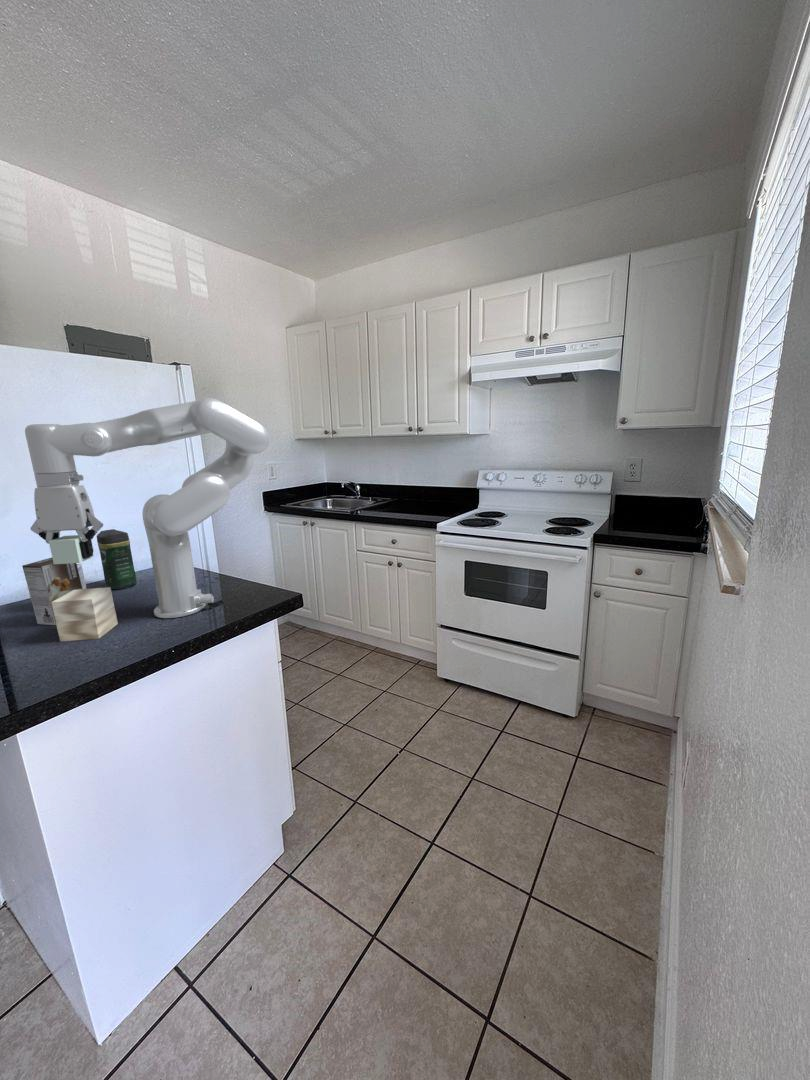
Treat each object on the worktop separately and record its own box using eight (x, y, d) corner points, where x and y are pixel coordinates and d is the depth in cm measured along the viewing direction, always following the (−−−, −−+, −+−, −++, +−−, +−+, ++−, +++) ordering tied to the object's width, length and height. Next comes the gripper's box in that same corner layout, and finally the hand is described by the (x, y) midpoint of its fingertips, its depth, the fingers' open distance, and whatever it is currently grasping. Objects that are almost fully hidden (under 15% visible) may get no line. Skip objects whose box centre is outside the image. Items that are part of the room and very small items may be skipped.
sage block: (93, 556, 104) (89, 534, 103) (79, 562, 99) (74, 539, 97) (69, 558, 103) (64, 535, 102) (53, 564, 98) (48, 541, 97)
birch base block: (117, 624, 110) (114, 605, 109) (99, 639, 102) (95, 619, 101) (82, 627, 109) (78, 608, 108) (60, 642, 101) (55, 622, 100)
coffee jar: (141, 585, 140) (131, 529, 136) (113, 592, 134) (102, 534, 130) (129, 579, 146) (119, 526, 142) (103, 586, 140) (91, 530, 136)
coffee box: (69, 610, 120) (57, 555, 116) (88, 611, 118) (76, 555, 115) (36, 624, 111) (21, 565, 107) (56, 626, 110) (41, 565, 106)
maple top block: (114, 605, 109) (110, 587, 108) (95, 619, 101) (91, 599, 99) (77, 608, 108) (73, 589, 107) (56, 622, 99) (51, 602, 98)
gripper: (107, 477, 101) (121, 551, 105) (28, 480, 99) (45, 556, 104) (88, 480, 94) (103, 560, 98) (2, 483, 92) (22, 564, 96)
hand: (73, 557), depth 101 cm, fingers closed on sage block, 5 cm apart
